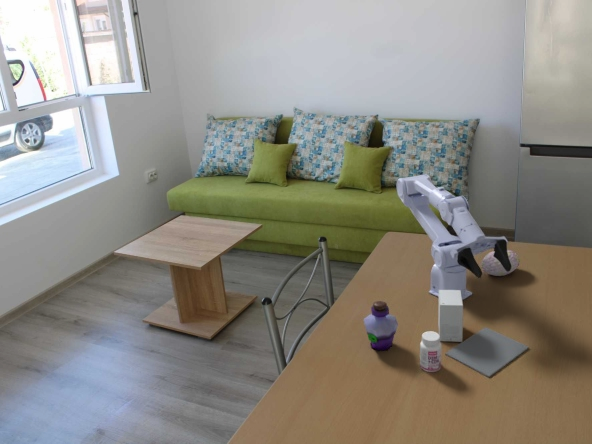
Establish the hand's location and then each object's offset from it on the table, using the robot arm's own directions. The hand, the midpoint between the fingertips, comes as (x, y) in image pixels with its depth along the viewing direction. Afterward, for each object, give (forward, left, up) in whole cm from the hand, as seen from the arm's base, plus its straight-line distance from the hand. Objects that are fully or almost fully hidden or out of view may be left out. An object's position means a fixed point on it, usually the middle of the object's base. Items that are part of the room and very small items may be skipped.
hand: (495, 272), depth 133 cm
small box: (-7, -8, -17) cm, 20 cm away
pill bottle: (-2, -22, -17) cm, 28 cm away
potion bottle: (-16, -24, -17) cm, 33 cm away
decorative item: (-17, +28, -17) cm, 37 cm away
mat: (+4, -8, -17) cm, 19 cm away
